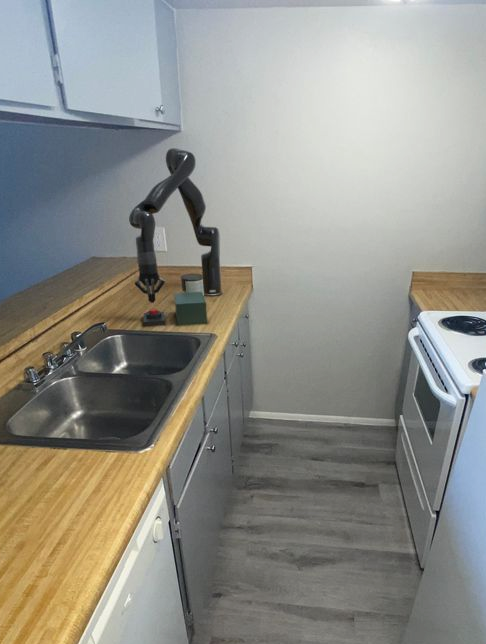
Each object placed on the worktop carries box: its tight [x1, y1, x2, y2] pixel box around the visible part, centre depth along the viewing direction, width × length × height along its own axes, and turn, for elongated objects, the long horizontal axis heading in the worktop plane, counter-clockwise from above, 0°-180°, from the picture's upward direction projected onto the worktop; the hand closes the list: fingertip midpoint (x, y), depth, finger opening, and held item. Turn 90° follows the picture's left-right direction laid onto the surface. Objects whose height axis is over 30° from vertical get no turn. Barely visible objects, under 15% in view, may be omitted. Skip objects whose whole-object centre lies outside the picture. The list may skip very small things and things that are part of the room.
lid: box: [173, 292, 207, 306], centre depth 207 cm, size 16×13×1 cm
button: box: [148, 308, 159, 314], centre depth 205 cm, size 4×4×2 cm
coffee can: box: [180, 273, 205, 297], centre depth 225 cm, size 10×10×14 cm
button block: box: [142, 310, 166, 328], centre depth 207 cm, size 12×9×4 cm
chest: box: [173, 297, 208, 326], centre depth 209 cm, size 16×13×9 cm
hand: (152, 302), depth 204 cm, fingers closed
